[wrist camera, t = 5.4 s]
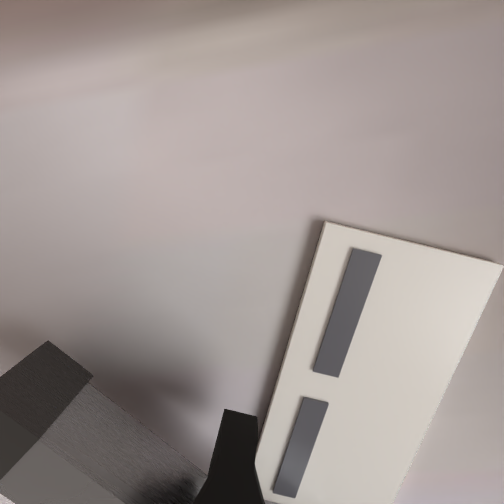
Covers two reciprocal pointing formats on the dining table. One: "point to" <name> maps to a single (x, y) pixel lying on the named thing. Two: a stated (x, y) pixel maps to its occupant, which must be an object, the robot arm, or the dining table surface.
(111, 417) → the swing arm
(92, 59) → the dining table surface
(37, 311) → the dining table surface
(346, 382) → the label card
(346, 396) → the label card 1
